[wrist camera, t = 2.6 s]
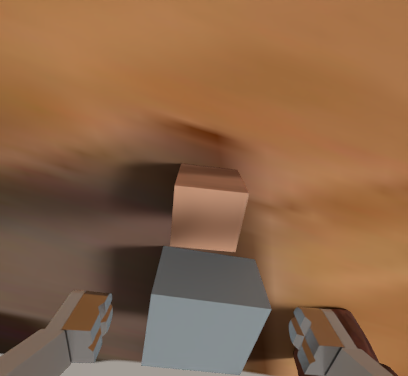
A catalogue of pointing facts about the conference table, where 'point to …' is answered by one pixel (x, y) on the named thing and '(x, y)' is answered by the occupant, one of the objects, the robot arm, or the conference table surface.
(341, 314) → the wooden figurine
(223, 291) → the slate base block
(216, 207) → the terracotta cube
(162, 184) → the conference table surface
